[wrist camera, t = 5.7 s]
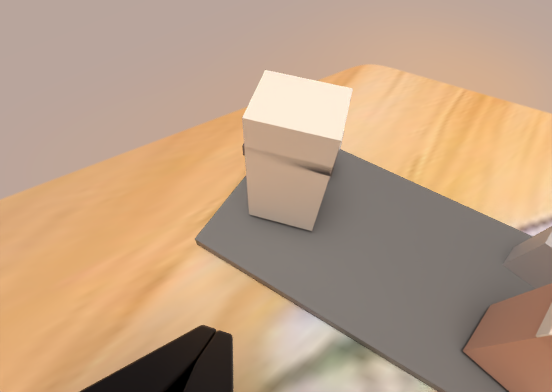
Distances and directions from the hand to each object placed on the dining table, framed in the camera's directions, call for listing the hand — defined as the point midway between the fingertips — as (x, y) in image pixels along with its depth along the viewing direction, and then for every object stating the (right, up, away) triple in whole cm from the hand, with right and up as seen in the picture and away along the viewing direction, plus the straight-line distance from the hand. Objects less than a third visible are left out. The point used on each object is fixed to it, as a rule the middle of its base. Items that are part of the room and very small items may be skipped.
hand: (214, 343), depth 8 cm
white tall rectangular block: (+2, +3, +17) cm, 17 cm away
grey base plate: (+11, -1, +16) cm, 19 cm away
